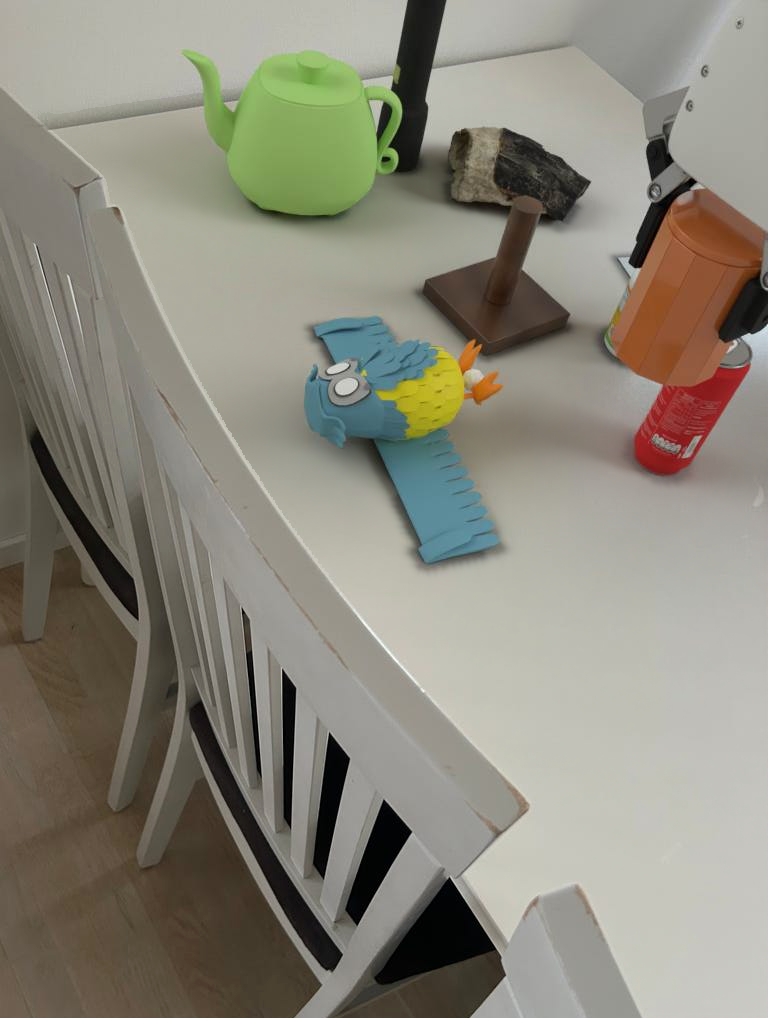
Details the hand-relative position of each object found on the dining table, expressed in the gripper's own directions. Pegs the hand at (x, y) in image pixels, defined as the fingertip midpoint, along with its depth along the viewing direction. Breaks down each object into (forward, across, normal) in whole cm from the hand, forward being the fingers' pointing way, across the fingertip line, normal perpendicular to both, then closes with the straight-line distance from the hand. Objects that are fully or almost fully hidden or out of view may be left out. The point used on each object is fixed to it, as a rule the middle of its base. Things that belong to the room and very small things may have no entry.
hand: (692, 294), depth 60 cm
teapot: (+24, +50, -6) cm, 56 cm away
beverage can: (+24, +3, -14) cm, 28 cm away
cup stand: (+24, +25, -13) cm, 37 cm away
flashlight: (+24, +50, -20) cm, 59 cm away
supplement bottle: (+24, +15, -22) cm, 36 cm away
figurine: (+24, +21, -33) cm, 46 cm away
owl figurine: (+24, +16, +6) cm, 29 cm away
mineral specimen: (+24, +40, -29) cm, 55 cm away
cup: (+4, 0, 0) cm, 4 cm away
